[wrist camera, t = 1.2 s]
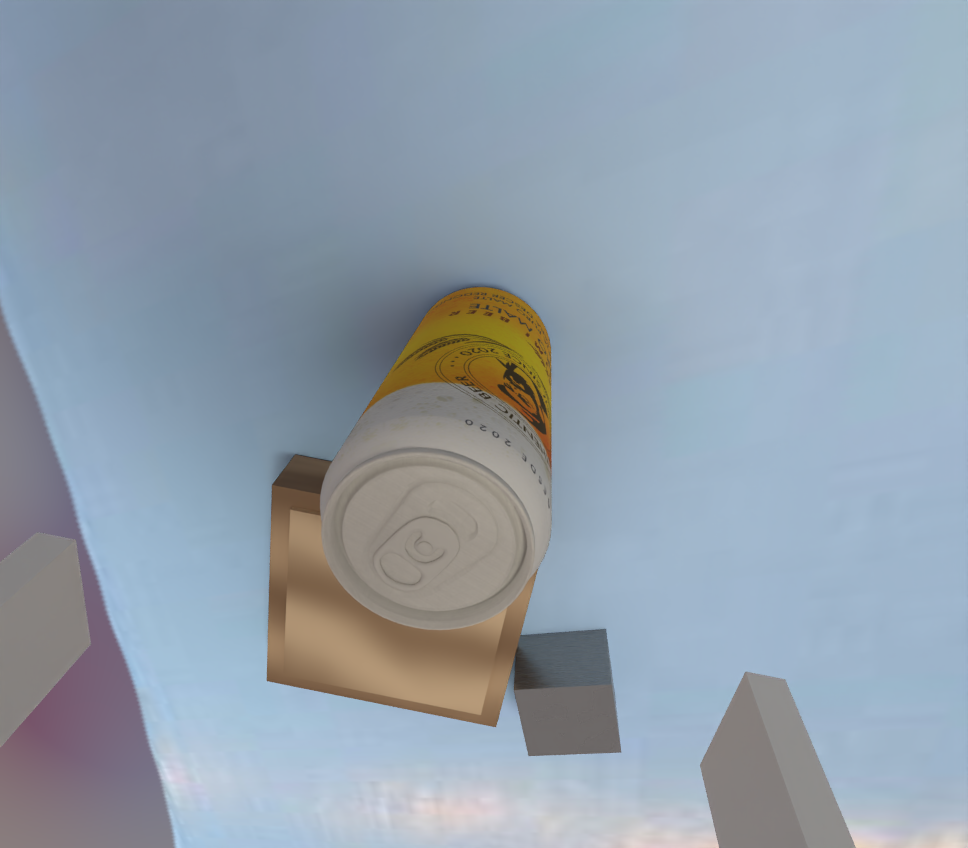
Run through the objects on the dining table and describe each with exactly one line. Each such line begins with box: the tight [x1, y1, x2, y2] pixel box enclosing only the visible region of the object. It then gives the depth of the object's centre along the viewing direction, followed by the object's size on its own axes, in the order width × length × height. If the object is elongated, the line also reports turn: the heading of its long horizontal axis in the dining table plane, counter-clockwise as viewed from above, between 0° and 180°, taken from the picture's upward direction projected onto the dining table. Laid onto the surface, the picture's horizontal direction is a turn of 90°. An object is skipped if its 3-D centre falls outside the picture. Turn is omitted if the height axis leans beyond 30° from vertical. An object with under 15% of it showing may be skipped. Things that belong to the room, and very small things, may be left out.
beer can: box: [320, 287, 552, 630], centre depth 22 cm, size 6×6×15 cm
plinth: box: [267, 455, 538, 727], centre depth 34 cm, size 13×13×3 cm
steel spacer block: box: [514, 629, 621, 756], centre depth 35 cm, size 5×5×4 cm
